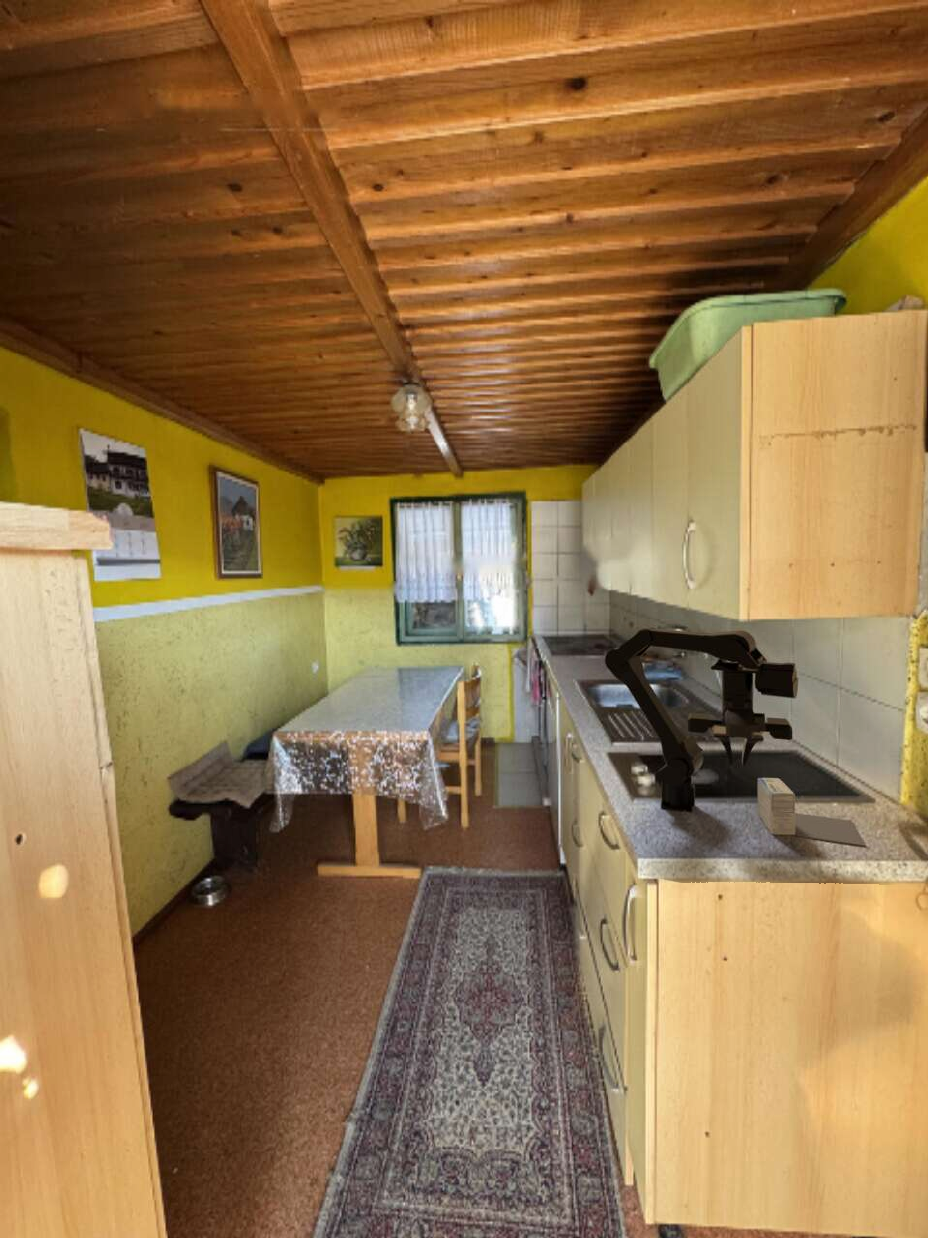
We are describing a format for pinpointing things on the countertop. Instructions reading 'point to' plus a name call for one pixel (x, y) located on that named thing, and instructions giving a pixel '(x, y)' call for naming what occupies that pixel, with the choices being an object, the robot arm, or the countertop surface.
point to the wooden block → (776, 806)
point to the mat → (827, 829)
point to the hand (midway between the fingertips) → (737, 765)
